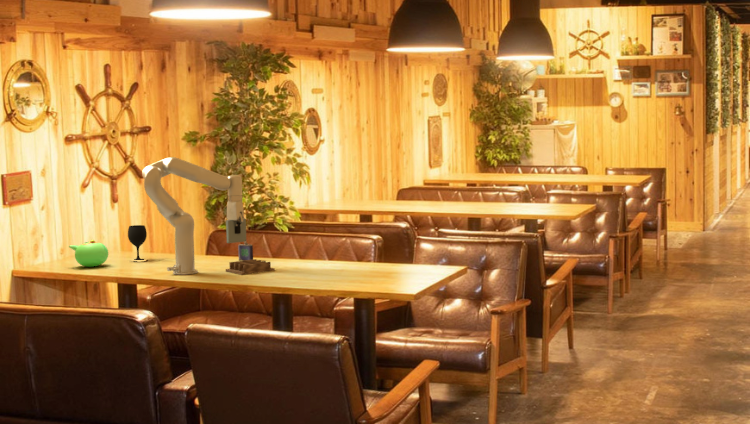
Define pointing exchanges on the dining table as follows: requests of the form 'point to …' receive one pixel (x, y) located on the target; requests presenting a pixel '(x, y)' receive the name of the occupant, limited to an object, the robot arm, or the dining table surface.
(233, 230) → the plate
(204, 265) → the dining table surface
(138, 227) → the wine glass
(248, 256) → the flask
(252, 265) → the rack
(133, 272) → the dining table surface
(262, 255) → the dining table surface
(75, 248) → the green teapot
